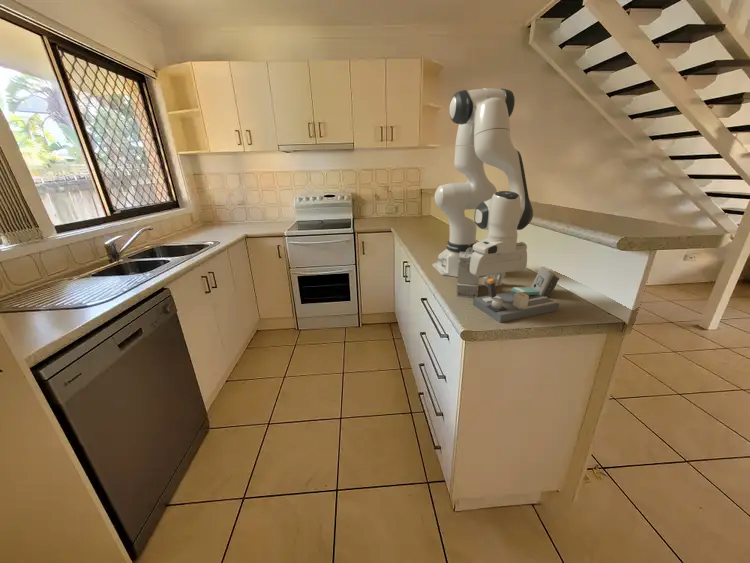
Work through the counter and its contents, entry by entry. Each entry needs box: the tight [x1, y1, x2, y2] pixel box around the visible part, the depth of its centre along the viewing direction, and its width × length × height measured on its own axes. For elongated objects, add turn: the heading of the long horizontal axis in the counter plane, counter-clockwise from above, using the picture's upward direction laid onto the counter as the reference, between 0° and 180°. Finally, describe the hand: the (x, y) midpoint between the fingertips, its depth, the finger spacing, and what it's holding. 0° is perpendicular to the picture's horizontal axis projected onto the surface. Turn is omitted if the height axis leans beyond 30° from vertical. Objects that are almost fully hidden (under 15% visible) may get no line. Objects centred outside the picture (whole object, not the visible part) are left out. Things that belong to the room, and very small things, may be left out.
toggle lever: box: [487, 279, 497, 298], centre depth 104 cm, size 2×2×6 cm
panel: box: [472, 290, 560, 323], centre depth 104 cm, size 14×23×3 cm, turn 108°
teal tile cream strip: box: [511, 286, 540, 295], centre depth 108 cm, size 8×5×1 cm, turn 108°
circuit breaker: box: [455, 252, 480, 298], centre depth 118 cm, size 8×14×15 cm, turn 163°
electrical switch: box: [530, 266, 560, 298], centre depth 114 cm, size 9×5×9 cm, turn 173°
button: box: [491, 298, 503, 309], centre depth 99 cm, size 3×3×2 cm
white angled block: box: [482, 274, 500, 288], centre depth 124 cm, size 4×10×9 cm, turn 110°
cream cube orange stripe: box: [513, 293, 529, 309], centre depth 99 cm, size 3×3×4 cm
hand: (496, 285), depth 103 cm, fingers closed
